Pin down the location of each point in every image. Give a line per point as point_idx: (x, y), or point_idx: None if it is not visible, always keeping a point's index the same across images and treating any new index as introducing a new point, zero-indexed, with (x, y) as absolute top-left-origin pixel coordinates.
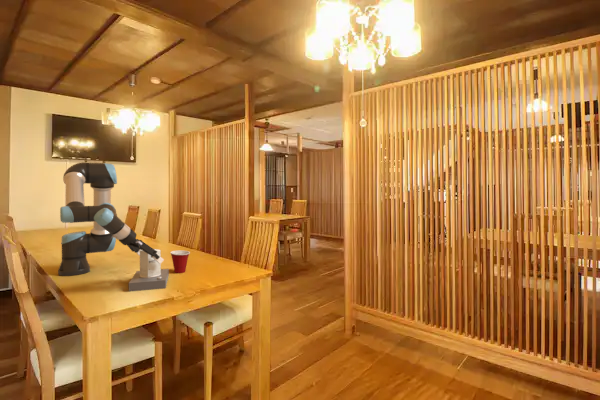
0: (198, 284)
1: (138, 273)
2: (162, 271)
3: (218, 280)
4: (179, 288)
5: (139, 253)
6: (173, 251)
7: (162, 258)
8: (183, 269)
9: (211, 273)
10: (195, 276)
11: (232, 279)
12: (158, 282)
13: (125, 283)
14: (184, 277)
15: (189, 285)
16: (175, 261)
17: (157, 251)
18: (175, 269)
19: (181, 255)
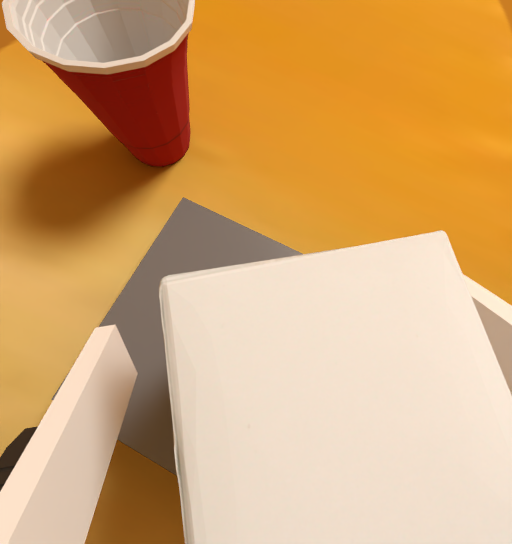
0: (480, 187)
1: (144, 420)
2: (228, 257)
3: (465, 94)
4: (500, 289)
5: (75, 533)
6: (15, 20)
7: (480, 287)
8: (189, 122)
9: (314, 56)
10: (315, 129)
11: (487, 49)
12: None
13: (154, 506)
14: (293, 175)
15: (472, 226)
16: (151, 113)
17: (464, 305)
18: (159, 154)
19: (184, 37)
